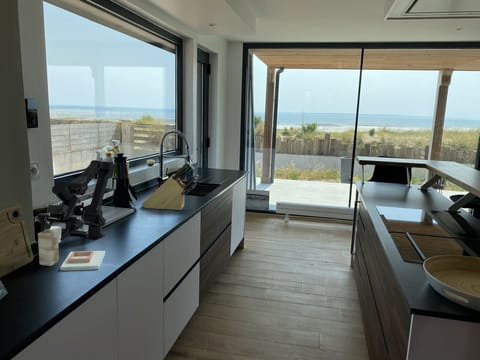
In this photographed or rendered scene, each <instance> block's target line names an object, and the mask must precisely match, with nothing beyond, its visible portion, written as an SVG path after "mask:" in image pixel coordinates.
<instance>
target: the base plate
mask: <svg viewBox="0 0 480 360" xmlns="http://www.w3.org/2000/svg"><path fill="white" fill-rule="evenodd" d="M105 255H106V250H85V251H82V250H80V251H79V250H78V251H70V252H69V254H68V255H67V257H66V258H65V260H64V261H63V262H62V264H61V265H60V271H61V272H64V271H88V270H90V271H91V270H99V269H100V266H101V264H102V262H103V260H104V257H105Z"/></svg>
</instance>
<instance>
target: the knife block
mask: <svg viewBox="0 0 480 360" xmlns="http://www.w3.org/2000/svg"><path fill="white" fill-rule="evenodd" d="M193 170H195V166H193V165H192V164H190V162H189V161H187V162H186V163H185V164H183V165H182V166H181V167H180V168H179V169H178V170H177V171H176V172H175V173H173V174H172V175H171V176H170V177H169V178H168V179H167V180H165V182H163V184H161V185H160V186H159V187H158V188H157V189H156V190H155V191H154V192H153V193H152V194H151V195H150V196H148V197H147V198H146V199H144V201H143V202H142V203H141V206H143V208H146V209H158V210H176V211H181V210H182V209H183V208H184V207H185V195H187V194H188V193H189V192H191V190H193V189H195V188H196V186H197V185H198V183H197V182H195V181H196V180H197V179H198V177H199V174H196V175H192V176H190V177H189V178H188V179H186V181H185V182H182V181H183V180H184V179H185V178H186V177H188V175H189V174H190V173H192V172H193ZM193 182H194V183H193Z"/></svg>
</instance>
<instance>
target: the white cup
mask: <svg viewBox="0 0 480 360" xmlns="http://www.w3.org/2000/svg"><path fill="white" fill-rule="evenodd" d="M50 226H51V228H50V229H51V230H53V231H58V244H60V243H61V242H62V241H61V240H60V239H61V236H62V227H61V226H60V225H50Z"/></svg>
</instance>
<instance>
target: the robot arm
mask: <svg viewBox="0 0 480 360" xmlns="http://www.w3.org/2000/svg"><path fill="white" fill-rule="evenodd" d="M115 170H116V164H114V161H104V160H101V159H97V160H96V159H94V160H91V161H90V163H89V164H88V166H87V167H86V168H85V170H84V171H82V172H81V174H80V175H79V176H78V177H75V178H73V179H72V180H70V181H69V182H66V181H65V180H60V182H59V183H56V184H55V185H54V186H52V187H51V192H52V193H53V195H55V197H56V198H57V199H58V200H59V201H61V203H60V204H57V205H56V204H55V205H54V204H48V206H47V209H46V213H38V214H37V215H36V218H35V219H36V220H37V221H38V222H39V223H40V232H43V231H44V230H45V229H50V228H51V226H53V224H54V223H55V224H63V225H64V224H65V228H64V230H63V232H62V233H61V239H60V240H61V242H62V241H64V240H65V239H66V238H68V237H69V236H71V234H73V233H74V232H76V231H79V230H82V229H83V227H84V226H87V235H86V236H85V238H87V239H90V240H91V239H93V240H99V239H100V238H103V237H105V236H106V234H103V227H105V225H106V222H107V220H106V218H105V217H104V216H103V215H104V212H103V209H102V208H103V207H102V205H103V200H104V196H105V193H106V188H107V185H108V181H109V179H110V178H111V177H112V176H113V175H114V172H115ZM96 175H97V179H96V183H95V187H94V191H93V193H92V197H91V201H90V204H89V206H85V207H84V210H83V213H82V220H83V221H82V220H81V219H80V217H78V216H74V215H75V211H74V210H75V208H76V207H77V204H79V205H80V204H81V203H82V201H81V198H80V197H78V196H84V195H85V194H86V193H87V191H88V189H89V183H90V182H91V181H92V180H93V178H95V176H96ZM49 213H50V214H51V215H49ZM51 216H52V217H51Z"/></svg>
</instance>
